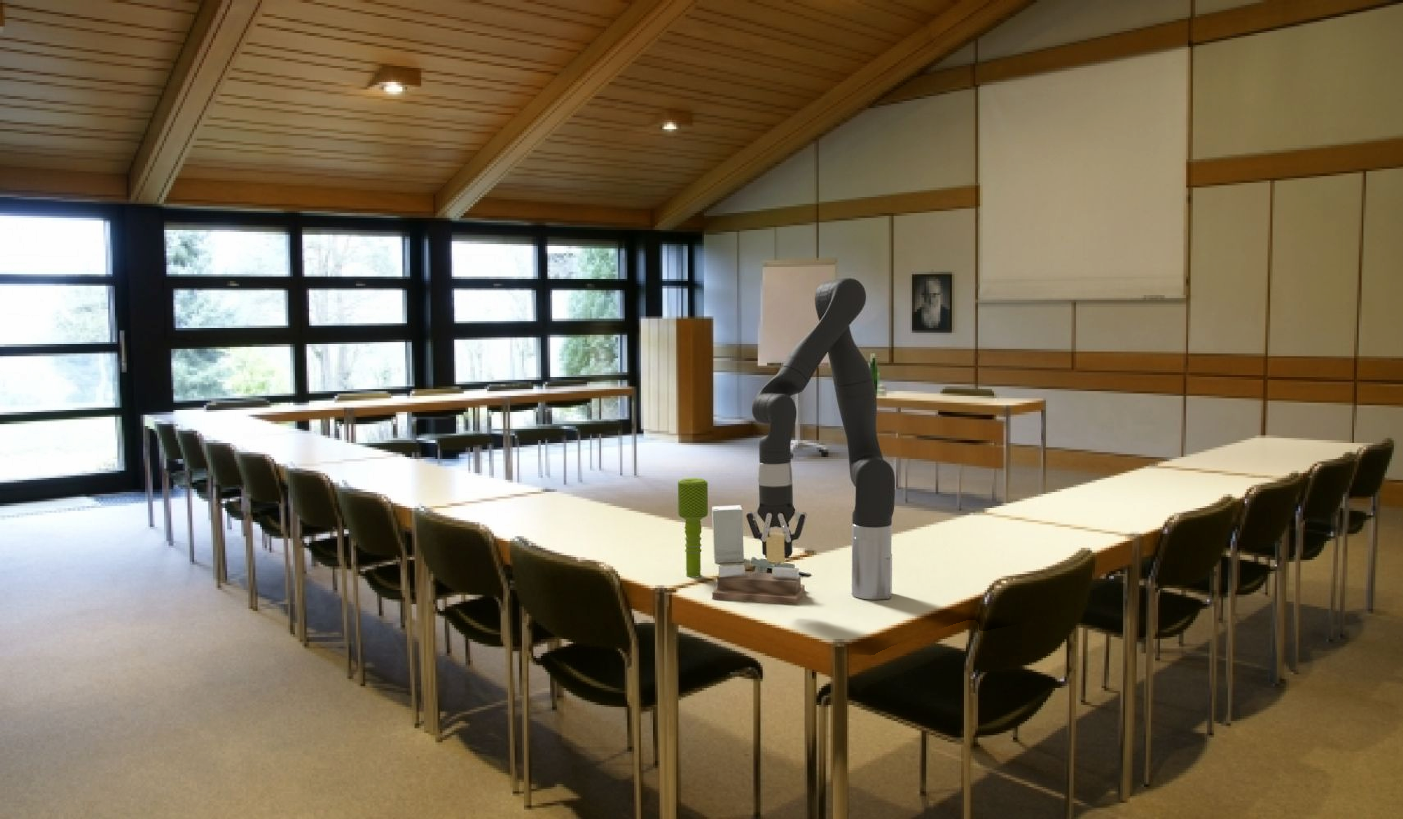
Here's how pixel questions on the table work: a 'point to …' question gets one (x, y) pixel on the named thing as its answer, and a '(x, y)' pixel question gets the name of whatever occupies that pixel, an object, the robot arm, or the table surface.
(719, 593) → the base
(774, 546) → the natural wood cube
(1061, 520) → the table surface
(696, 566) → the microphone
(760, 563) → the metal bracket
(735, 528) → the skincare box
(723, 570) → the grey bar
